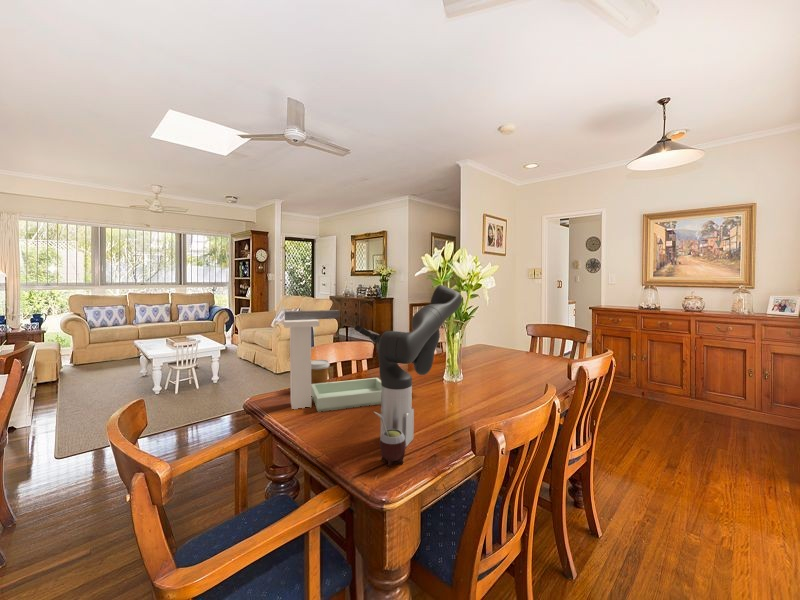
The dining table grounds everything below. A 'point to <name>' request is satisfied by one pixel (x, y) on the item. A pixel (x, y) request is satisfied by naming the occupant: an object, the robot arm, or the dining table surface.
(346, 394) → the tray
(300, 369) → the stand
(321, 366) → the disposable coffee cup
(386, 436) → the mate gourd
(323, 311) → the bar
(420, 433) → the dining table surface
